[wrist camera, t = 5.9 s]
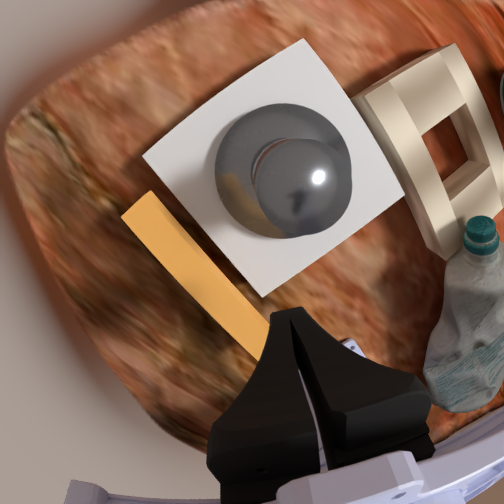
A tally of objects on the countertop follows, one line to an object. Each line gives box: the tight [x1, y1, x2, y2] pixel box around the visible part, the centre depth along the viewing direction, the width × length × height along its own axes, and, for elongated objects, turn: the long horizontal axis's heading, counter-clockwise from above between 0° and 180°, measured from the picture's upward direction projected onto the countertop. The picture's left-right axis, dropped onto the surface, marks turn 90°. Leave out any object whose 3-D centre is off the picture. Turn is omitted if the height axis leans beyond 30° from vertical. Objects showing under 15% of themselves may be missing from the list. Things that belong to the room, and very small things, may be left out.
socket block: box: [142, 38, 405, 297], centre depth 19 cm, size 12×12×3 cm
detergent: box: [423, 215, 504, 413], centre depth 23 cm, size 13×7×25 cm
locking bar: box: [121, 190, 270, 361], centre depth 19 cm, size 15×2×1 cm, turn 37°
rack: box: [350, 43, 504, 261], centre depth 19 cm, size 14×10×3 cm
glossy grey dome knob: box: [215, 103, 352, 239], centre depth 16 cm, size 8×8×9 cm
